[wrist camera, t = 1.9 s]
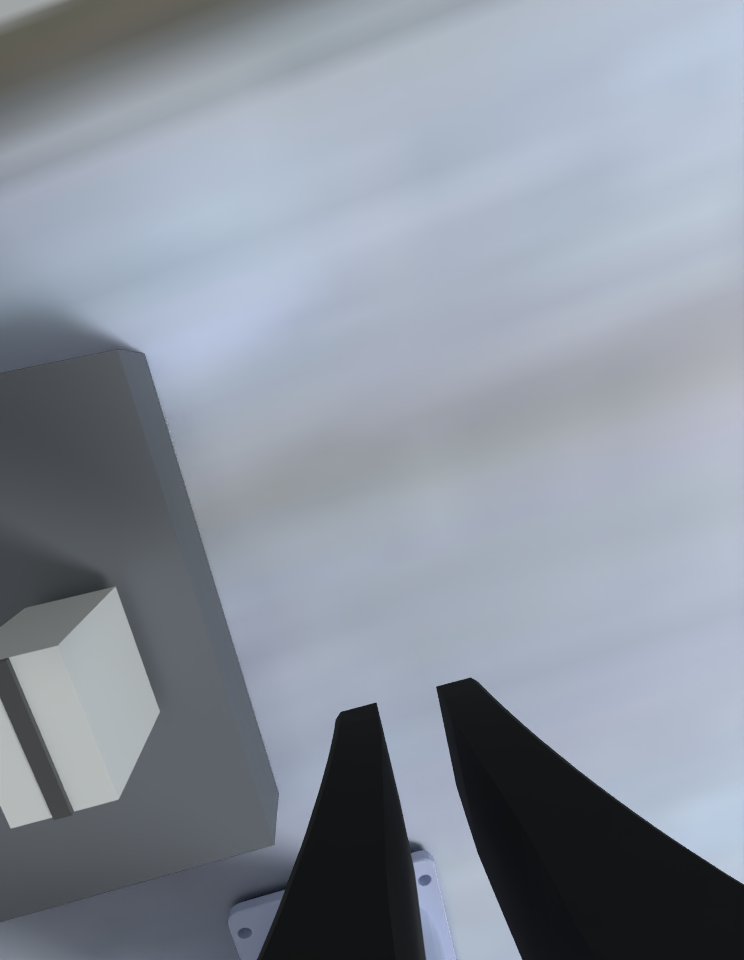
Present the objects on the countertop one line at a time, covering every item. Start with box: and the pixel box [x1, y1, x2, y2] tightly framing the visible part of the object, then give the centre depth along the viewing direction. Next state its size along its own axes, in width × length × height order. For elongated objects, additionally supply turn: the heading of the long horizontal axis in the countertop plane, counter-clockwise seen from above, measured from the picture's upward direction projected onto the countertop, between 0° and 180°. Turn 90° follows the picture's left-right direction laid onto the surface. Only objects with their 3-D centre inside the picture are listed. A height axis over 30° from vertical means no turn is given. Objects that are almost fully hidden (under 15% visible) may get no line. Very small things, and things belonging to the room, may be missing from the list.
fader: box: [0, 586, 160, 828], centre depth 12 cm, size 4×2×3 cm, turn 12°
